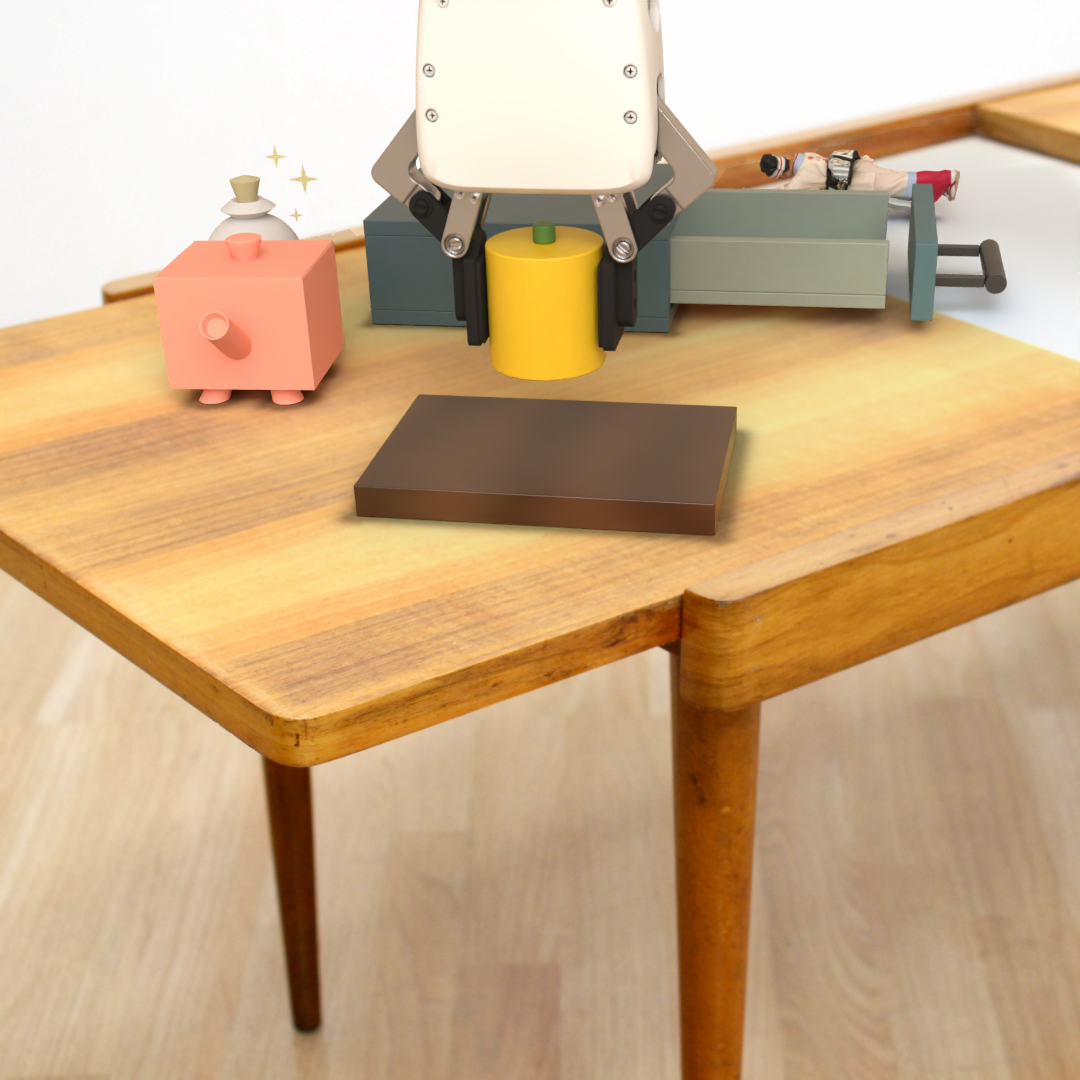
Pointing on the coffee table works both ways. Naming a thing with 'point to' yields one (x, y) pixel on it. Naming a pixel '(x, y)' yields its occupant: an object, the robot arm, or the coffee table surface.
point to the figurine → (856, 176)
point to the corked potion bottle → (255, 210)
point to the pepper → (544, 301)
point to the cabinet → (426, 271)
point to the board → (554, 464)
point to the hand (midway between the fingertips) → (547, 334)
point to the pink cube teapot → (250, 316)
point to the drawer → (812, 250)
